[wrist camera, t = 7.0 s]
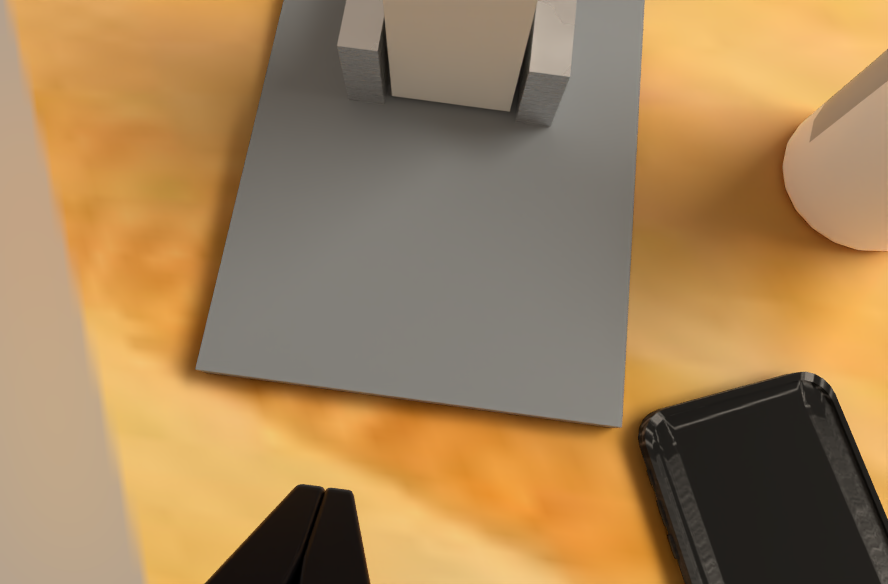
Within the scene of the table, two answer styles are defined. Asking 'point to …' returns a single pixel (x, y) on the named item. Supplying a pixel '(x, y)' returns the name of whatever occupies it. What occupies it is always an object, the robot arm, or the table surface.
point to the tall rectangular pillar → (457, 49)
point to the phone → (766, 487)
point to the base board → (435, 234)
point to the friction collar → (539, 72)
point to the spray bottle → (845, 163)
